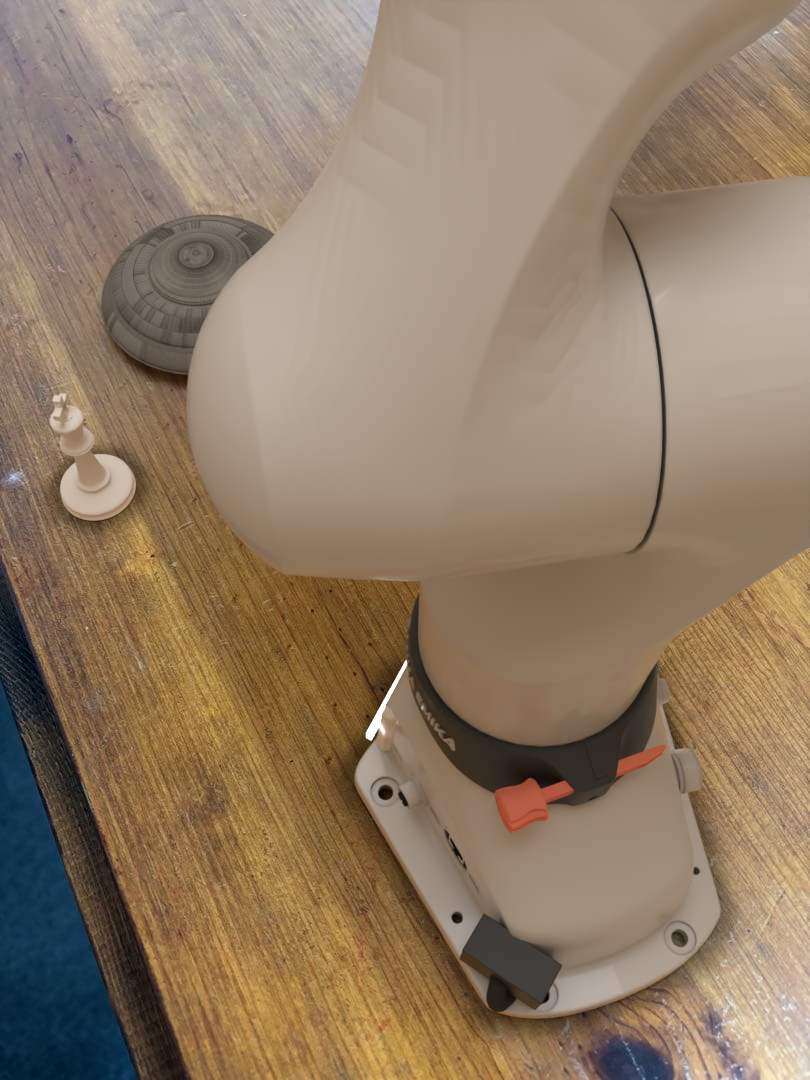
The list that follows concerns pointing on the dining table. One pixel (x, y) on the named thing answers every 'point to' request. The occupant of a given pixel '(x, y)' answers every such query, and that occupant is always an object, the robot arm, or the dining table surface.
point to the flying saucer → (174, 285)
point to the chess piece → (89, 469)
